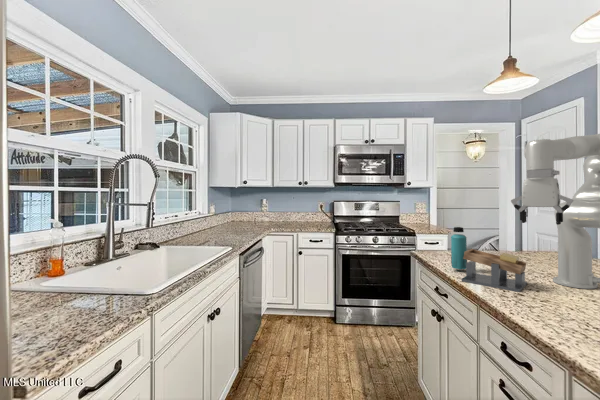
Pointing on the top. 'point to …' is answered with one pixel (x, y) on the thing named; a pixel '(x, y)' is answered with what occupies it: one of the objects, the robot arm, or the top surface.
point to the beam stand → (494, 278)
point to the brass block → (509, 258)
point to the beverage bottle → (458, 249)
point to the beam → (493, 261)
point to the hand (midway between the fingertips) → (540, 223)
